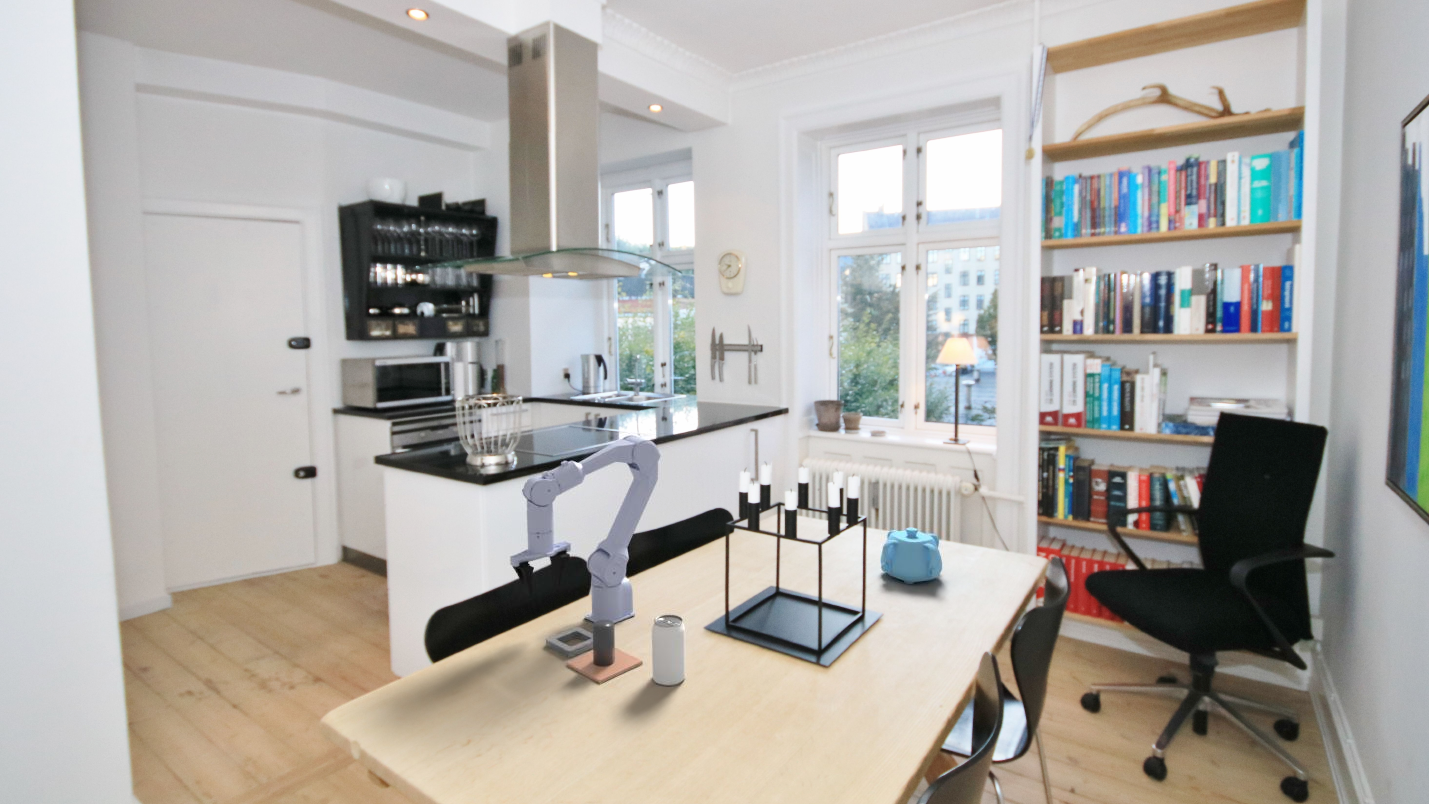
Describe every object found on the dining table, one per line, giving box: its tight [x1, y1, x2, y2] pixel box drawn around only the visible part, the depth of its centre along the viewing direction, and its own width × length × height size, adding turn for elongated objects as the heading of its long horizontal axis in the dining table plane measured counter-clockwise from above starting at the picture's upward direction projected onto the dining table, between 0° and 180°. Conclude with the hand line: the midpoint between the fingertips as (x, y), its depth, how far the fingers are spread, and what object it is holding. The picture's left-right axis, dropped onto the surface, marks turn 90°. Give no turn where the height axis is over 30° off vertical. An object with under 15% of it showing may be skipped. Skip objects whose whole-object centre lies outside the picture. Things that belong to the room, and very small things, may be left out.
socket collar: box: [545, 626, 593, 659], centre depth 155 cm, size 9×9×2 cm
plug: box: [592, 620, 616, 667], centre depth 146 cm, size 4×4×8 cm
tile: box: [566, 647, 643, 684], centre depth 146 cm, size 11×11×1 cm
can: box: [651, 614, 686, 687], centre depth 140 cm, size 6×6×12 cm
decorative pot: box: [880, 527, 943, 585], centre depth 195 cm, size 16×16×14 cm
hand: (542, 588), depth 160 cm, fingers open, 7 cm apart
